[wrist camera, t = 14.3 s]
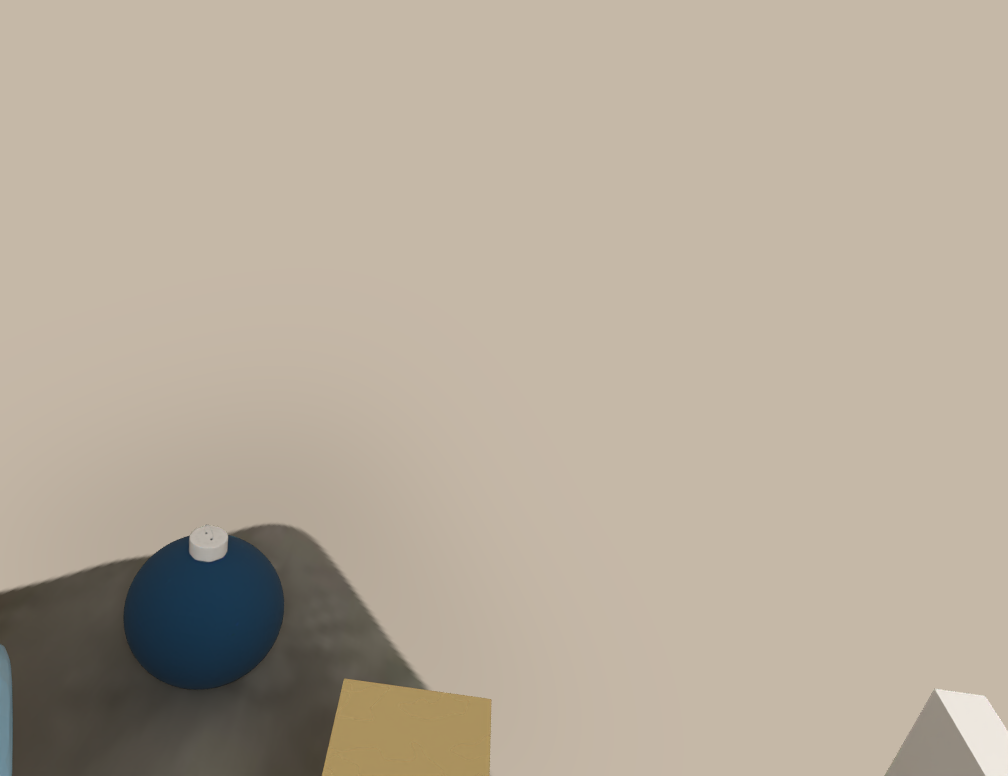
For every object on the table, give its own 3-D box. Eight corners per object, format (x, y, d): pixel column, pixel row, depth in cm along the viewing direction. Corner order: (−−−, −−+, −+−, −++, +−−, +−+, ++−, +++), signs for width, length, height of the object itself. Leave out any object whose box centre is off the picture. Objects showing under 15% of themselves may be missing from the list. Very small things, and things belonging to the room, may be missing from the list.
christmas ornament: (306, 679, 50) (321, 543, 45) (167, 749, 44) (168, 602, 39) (234, 595, 54) (241, 465, 50) (99, 649, 49) (94, 508, 44)
